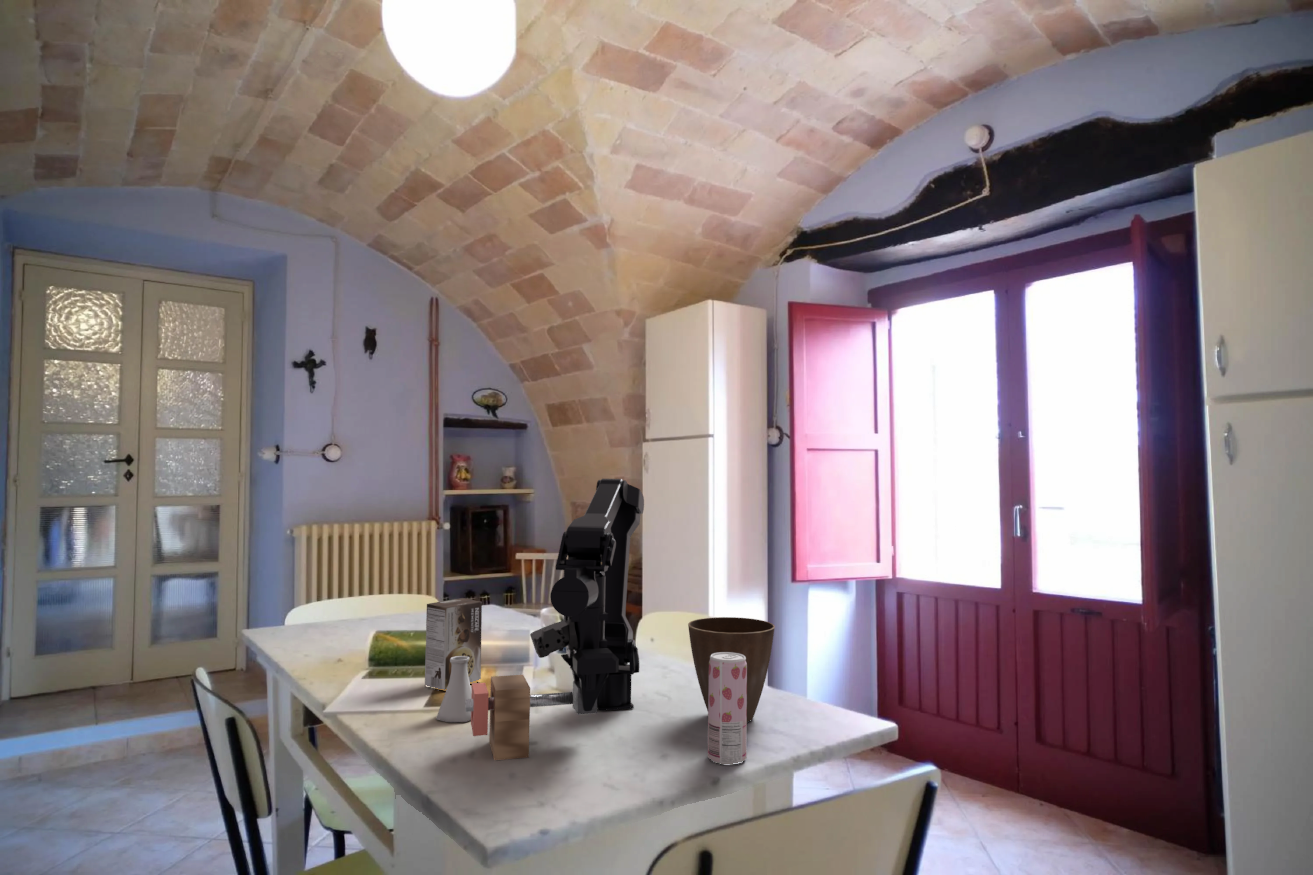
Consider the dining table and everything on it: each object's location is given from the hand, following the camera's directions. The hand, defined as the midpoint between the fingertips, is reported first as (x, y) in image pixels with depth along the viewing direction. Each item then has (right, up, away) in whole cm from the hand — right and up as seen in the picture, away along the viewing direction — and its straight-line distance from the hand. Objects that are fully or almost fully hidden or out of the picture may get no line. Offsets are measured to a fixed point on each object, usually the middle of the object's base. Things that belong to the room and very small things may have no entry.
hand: (584, 706), depth 121 cm
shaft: (-8, 0, -2) cm, 8 cm away
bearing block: (-11, -5, -4) cm, 13 cm away
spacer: (-15, -2, -5) cm, 16 cm away
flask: (-23, -6, +12) cm, 26 cm away
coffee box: (-29, -7, +32) cm, 43 cm away
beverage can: (+22, -6, -6) cm, 23 cm away
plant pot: (+24, -7, +13) cm, 28 cm away
